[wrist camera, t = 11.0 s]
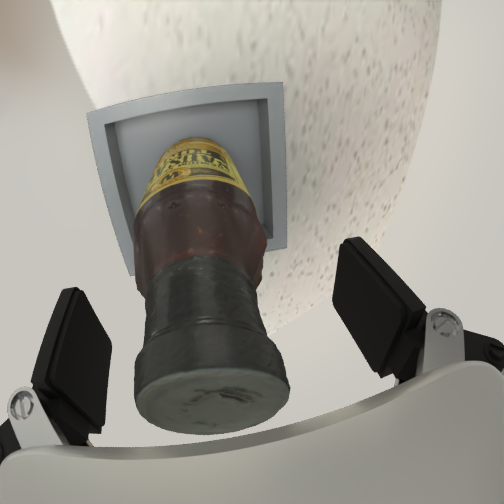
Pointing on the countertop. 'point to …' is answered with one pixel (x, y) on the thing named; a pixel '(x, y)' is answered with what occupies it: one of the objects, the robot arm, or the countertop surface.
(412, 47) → the countertop surface
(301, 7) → the countertop surface
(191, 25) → the countertop surface
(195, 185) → the sauce bottle
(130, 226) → the dock
